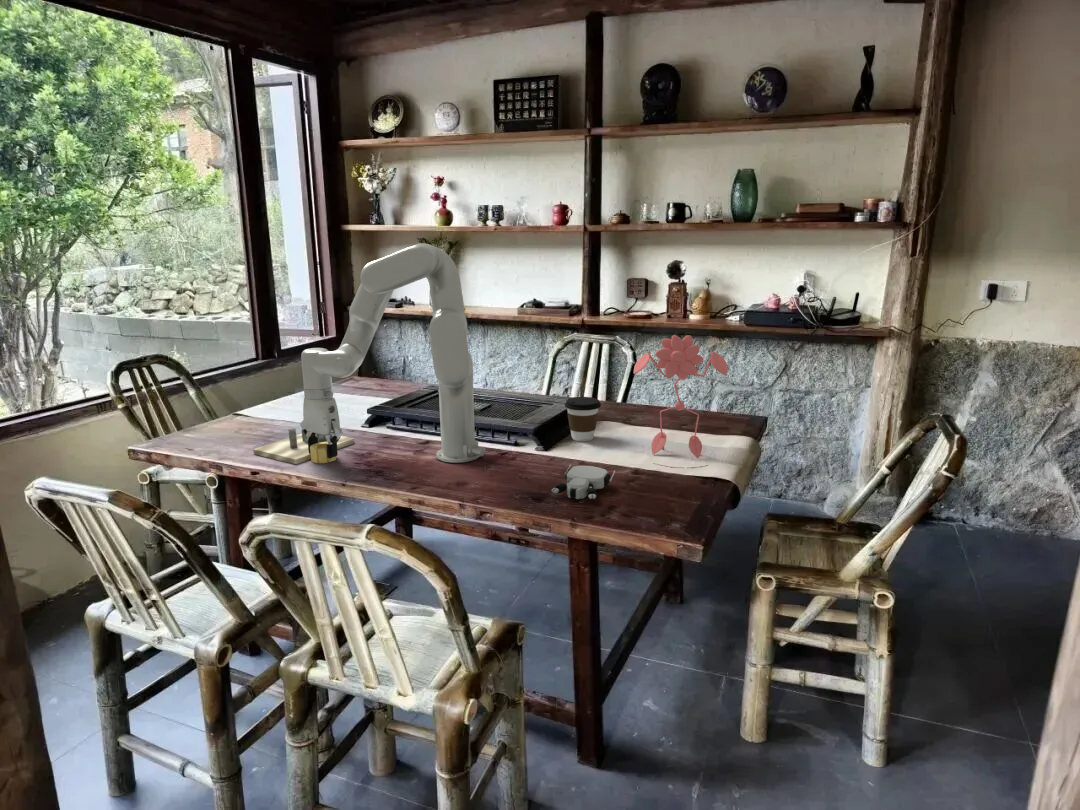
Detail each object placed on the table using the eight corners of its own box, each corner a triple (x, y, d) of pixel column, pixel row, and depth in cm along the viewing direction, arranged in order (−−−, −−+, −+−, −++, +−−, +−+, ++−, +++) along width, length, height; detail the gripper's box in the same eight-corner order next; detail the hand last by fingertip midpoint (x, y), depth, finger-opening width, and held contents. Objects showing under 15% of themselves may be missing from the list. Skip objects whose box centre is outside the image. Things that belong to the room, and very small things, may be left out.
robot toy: (596, 509, 163) (616, 484, 176) (596, 492, 162) (616, 467, 175) (548, 501, 168) (571, 477, 181) (547, 484, 167) (570, 461, 179)
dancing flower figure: (635, 445, 206) (638, 328, 196) (724, 455, 197) (732, 333, 187) (621, 463, 192) (624, 338, 182) (717, 474, 183) (724, 343, 173)
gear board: (354, 443, 211) (352, 420, 209) (296, 464, 193) (293, 440, 191) (313, 434, 220) (311, 413, 218) (253, 454, 202) (251, 431, 200)
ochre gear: (341, 457, 198) (340, 444, 197) (322, 464, 192) (321, 451, 191) (325, 453, 201) (324, 440, 200) (306, 460, 196) (305, 446, 195)
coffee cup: (580, 446, 206) (580, 407, 203) (557, 437, 214) (557, 399, 211) (607, 439, 212) (608, 401, 209) (584, 431, 221) (585, 394, 218)
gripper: (351, 394, 190) (355, 456, 195) (307, 386, 199) (312, 445, 204) (330, 400, 184) (334, 463, 189) (286, 391, 193) (291, 452, 198)
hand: (323, 454), depth 196 cm, fingers open, 6 cm apart
